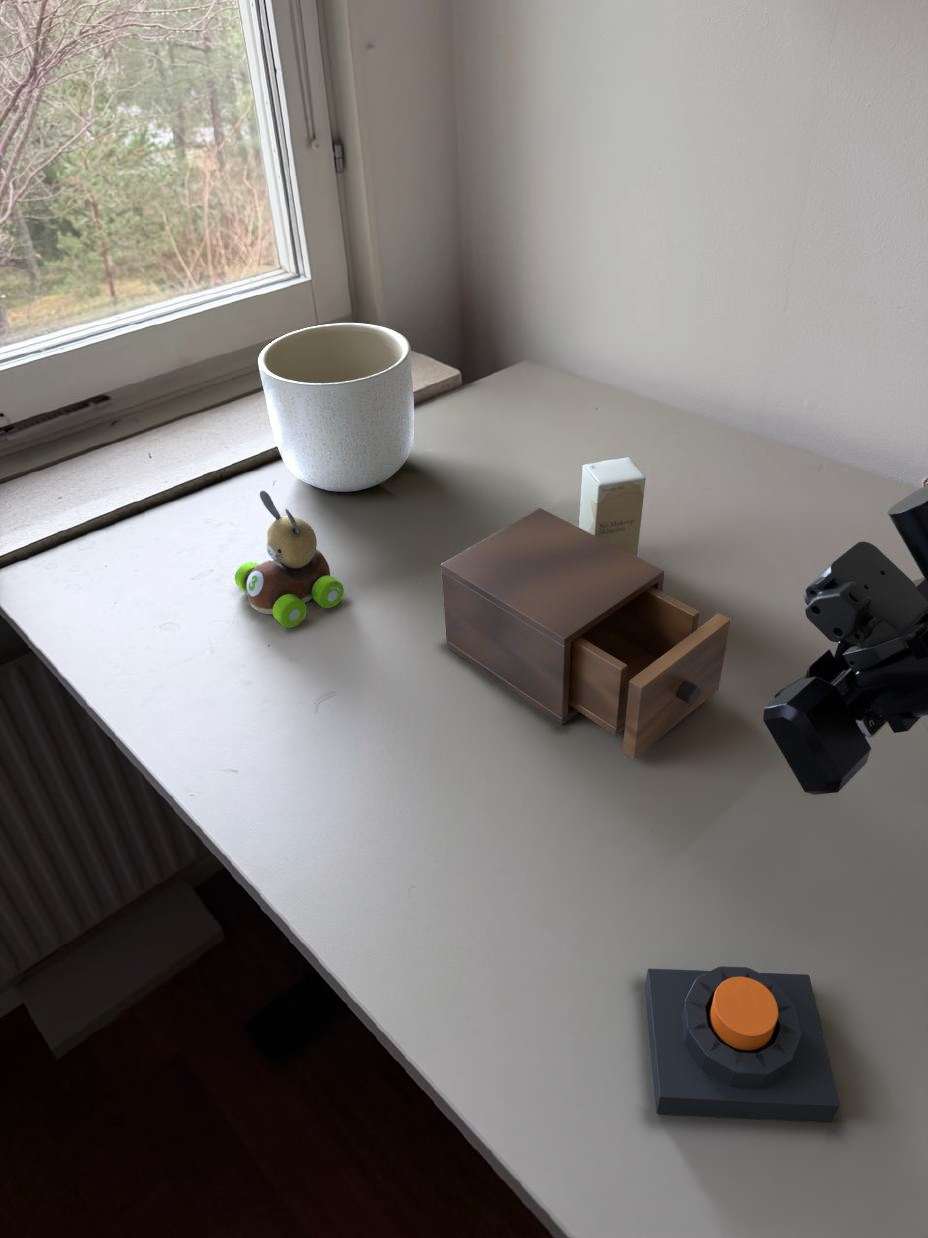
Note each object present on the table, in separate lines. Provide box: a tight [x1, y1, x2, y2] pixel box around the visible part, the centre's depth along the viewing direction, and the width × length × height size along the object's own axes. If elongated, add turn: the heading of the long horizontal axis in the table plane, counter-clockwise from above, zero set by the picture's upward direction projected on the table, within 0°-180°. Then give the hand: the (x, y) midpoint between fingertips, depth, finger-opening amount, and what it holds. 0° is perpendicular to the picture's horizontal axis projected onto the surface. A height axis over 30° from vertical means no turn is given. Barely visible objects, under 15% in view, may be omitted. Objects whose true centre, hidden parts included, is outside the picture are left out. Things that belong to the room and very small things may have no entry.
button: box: [710, 977, 778, 1051], centre depth 54 cm, size 4×4×2 cm
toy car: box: [234, 490, 345, 628], centre depth 91 cm, size 9×9×11 cm
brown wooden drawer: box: [568, 587, 732, 760], centre depth 79 cm, size 15×11×8 cm
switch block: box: [644, 965, 841, 1124], centre depth 56 cm, size 10×8×4 cm
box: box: [578, 456, 647, 557], centre depth 94 cm, size 5×4×11 cm
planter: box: [257, 322, 415, 493], centre depth 109 cm, size 17×17×15 cm
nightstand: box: [440, 507, 665, 726], centre depth 84 cm, size 15×13×10 cm
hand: (779, 699), depth 68 cm, fingers closed
